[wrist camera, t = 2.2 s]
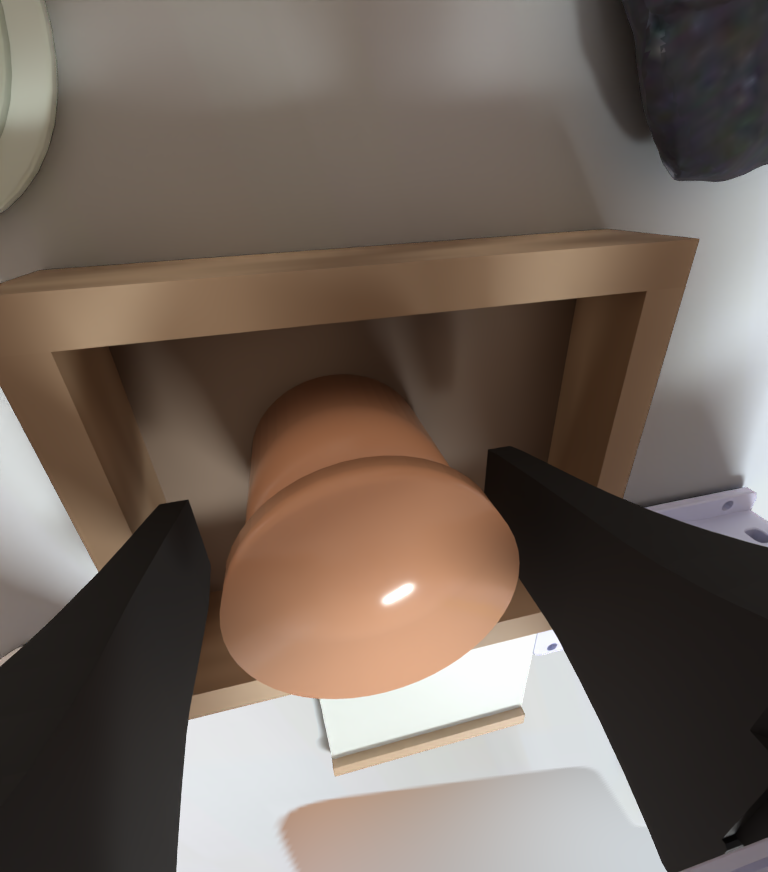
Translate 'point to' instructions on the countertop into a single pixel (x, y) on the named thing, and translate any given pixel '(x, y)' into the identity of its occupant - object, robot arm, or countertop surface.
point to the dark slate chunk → (704, 83)
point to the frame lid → (431, 708)
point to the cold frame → (330, 355)
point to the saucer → (25, 94)
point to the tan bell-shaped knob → (359, 548)
